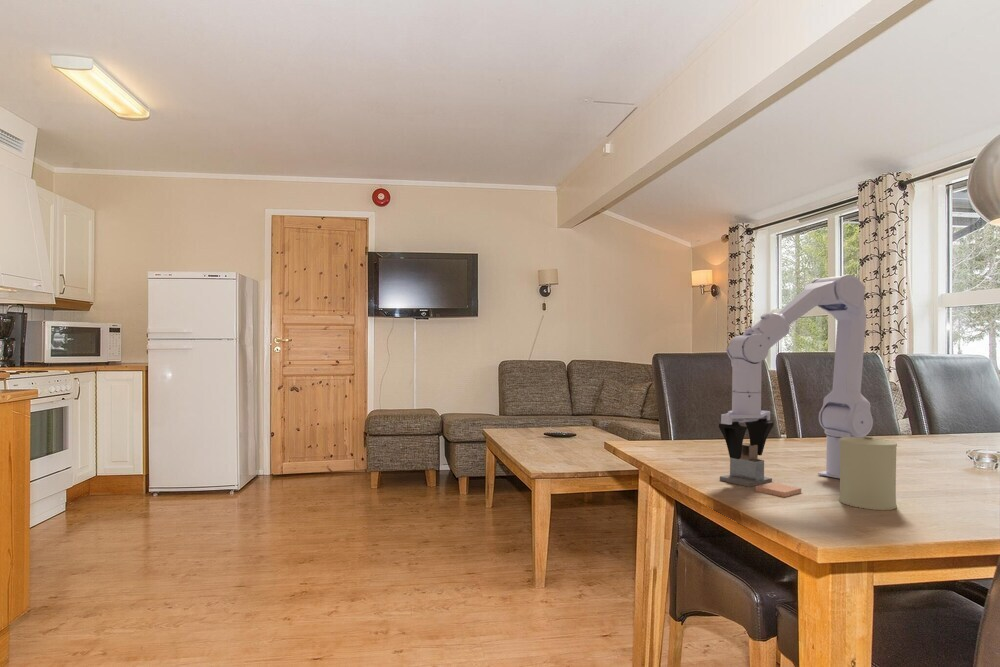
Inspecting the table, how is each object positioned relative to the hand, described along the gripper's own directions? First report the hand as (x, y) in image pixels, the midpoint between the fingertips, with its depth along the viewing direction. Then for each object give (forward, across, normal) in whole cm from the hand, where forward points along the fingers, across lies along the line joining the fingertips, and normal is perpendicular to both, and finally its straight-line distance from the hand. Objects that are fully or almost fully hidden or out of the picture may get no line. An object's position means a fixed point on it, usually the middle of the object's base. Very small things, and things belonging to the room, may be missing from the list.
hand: (745, 456), depth 133 cm
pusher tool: (+4, 0, 0) cm, 4 cm away
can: (+5, -3, +23) cm, 24 cm away
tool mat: (+5, 0, 0) cm, 5 cm away
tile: (+5, 0, +9) cm, 10 cm away
